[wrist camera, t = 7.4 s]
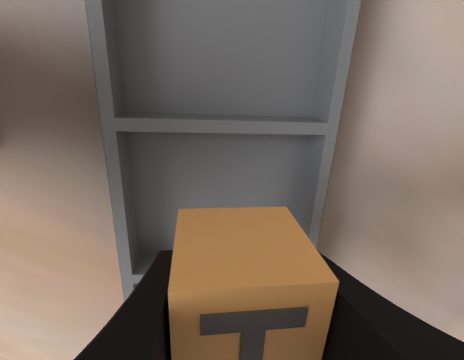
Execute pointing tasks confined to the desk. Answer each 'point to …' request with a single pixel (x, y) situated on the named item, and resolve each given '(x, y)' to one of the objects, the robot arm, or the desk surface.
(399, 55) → the desk surface
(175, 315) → the letter cube
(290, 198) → the organizer
